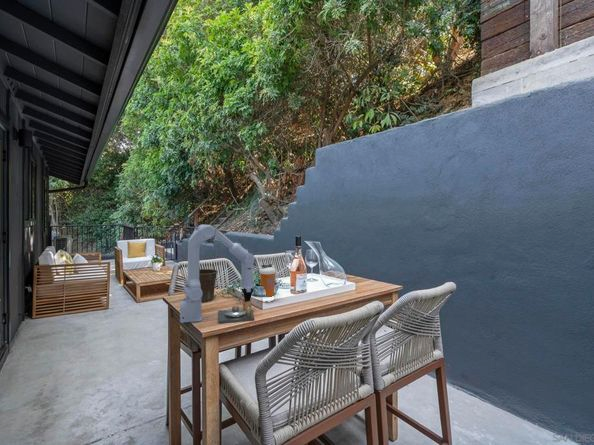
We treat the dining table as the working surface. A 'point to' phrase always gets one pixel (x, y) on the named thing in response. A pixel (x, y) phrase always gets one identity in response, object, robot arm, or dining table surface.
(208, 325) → the dining table surface
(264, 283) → the glass of beer
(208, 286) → the plant pot
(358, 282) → the dining table surface
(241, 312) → the flange
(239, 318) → the base plate
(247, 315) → the dowel
